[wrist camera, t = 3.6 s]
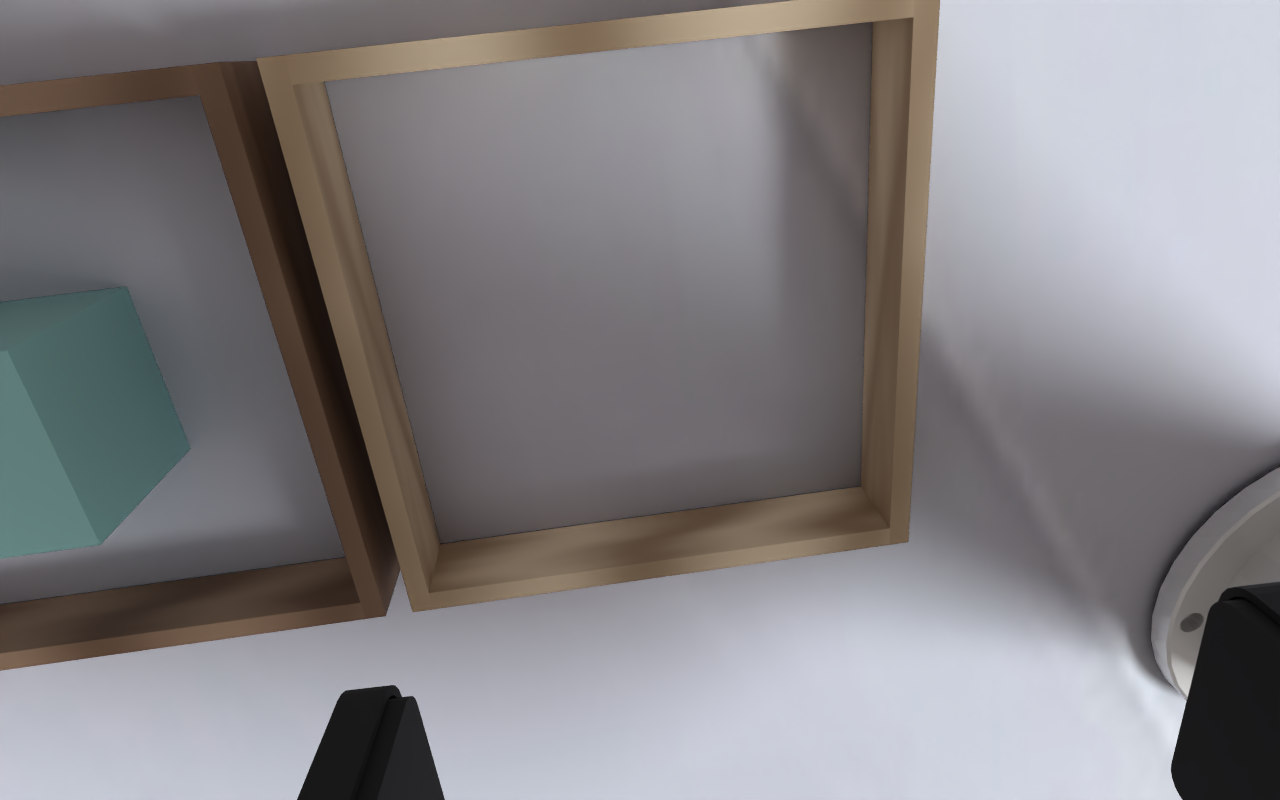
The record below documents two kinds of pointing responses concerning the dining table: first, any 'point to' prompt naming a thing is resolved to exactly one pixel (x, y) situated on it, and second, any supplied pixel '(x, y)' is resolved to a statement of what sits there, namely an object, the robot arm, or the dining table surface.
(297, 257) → the walnut tray
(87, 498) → the teal cube
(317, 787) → the robot arm
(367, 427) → the oak tray
